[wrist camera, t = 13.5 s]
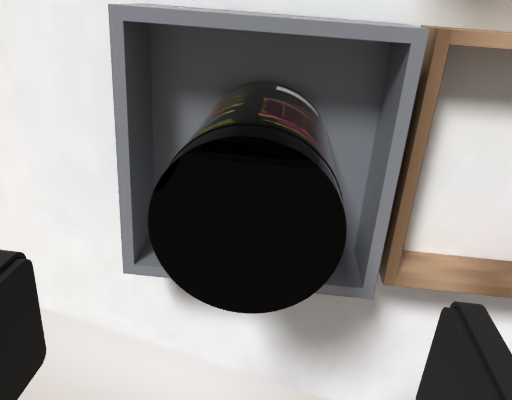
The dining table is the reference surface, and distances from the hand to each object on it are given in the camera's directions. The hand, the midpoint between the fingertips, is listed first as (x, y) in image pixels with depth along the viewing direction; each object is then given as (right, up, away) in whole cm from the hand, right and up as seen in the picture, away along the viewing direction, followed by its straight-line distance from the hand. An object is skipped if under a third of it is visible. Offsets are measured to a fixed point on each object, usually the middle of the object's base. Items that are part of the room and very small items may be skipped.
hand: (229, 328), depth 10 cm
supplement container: (+1, +6, +14) cm, 16 cm away
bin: (+1, +6, +15) cm, 16 cm away
